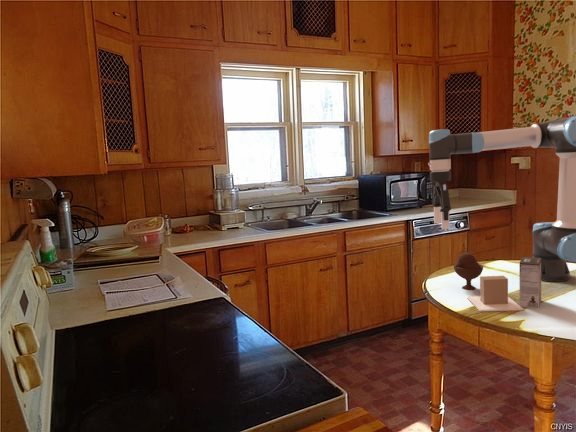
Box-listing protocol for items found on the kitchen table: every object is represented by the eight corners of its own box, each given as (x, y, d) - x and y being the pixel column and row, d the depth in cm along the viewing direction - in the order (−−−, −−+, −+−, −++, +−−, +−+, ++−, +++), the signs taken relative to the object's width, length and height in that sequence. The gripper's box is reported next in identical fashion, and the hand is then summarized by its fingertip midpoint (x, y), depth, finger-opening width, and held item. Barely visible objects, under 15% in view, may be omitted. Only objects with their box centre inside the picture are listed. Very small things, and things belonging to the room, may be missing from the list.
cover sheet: (506, 296, 161) (506, 271, 159) (523, 310, 147) (523, 282, 146) (467, 298, 162) (467, 273, 161) (479, 311, 148) (479, 284, 147)
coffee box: (521, 299, 158) (521, 256, 156) (541, 301, 155) (541, 257, 153) (519, 307, 150) (519, 262, 148) (540, 310, 147) (540, 263, 145)
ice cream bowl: (487, 293, 167) (486, 255, 165) (456, 293, 170) (455, 255, 168) (480, 285, 178) (480, 249, 176) (451, 285, 180) (451, 249, 178)
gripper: (424, 170, 178) (425, 221, 181) (436, 172, 154) (438, 231, 157) (442, 169, 177) (444, 220, 180) (458, 171, 153) (460, 230, 156)
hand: (441, 225), depth 168 cm, fingers open, 13 cm apart
